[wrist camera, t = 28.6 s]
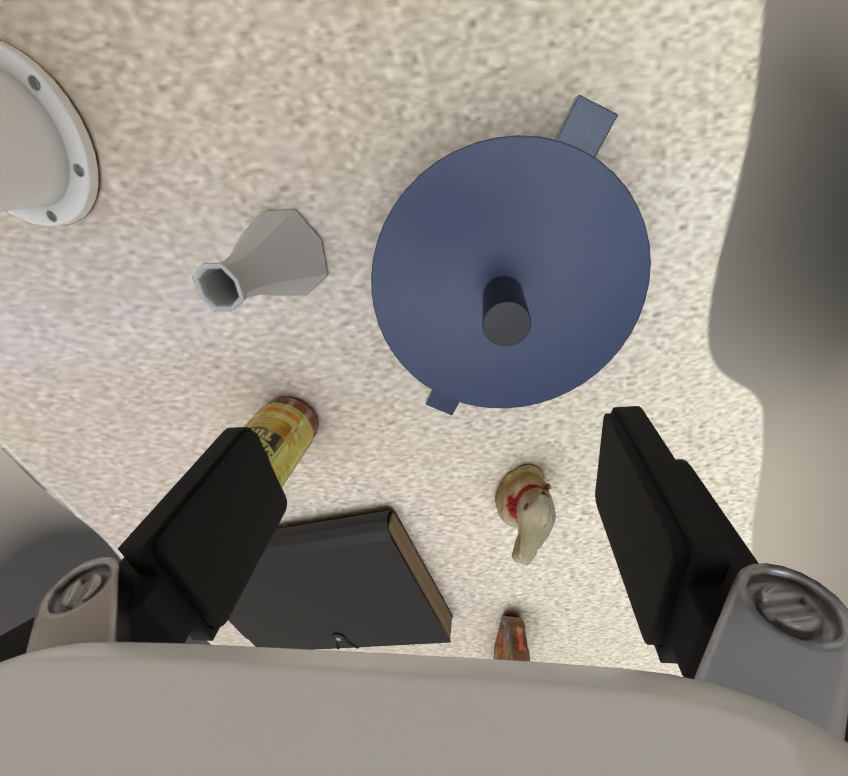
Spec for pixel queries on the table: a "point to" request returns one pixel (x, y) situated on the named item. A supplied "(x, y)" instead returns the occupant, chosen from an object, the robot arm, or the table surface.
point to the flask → (265, 263)
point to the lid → (510, 271)
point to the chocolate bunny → (526, 509)
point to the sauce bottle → (284, 433)
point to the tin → (511, 640)
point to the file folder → (342, 588)
